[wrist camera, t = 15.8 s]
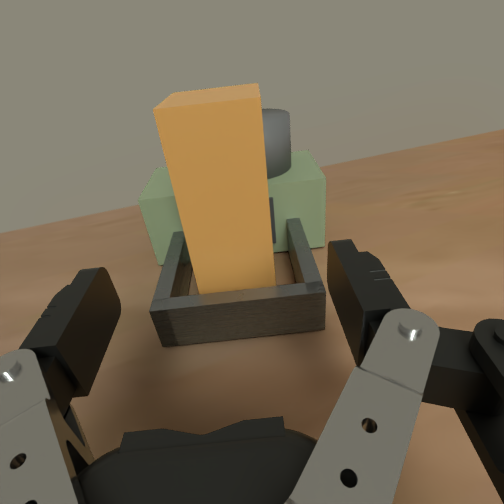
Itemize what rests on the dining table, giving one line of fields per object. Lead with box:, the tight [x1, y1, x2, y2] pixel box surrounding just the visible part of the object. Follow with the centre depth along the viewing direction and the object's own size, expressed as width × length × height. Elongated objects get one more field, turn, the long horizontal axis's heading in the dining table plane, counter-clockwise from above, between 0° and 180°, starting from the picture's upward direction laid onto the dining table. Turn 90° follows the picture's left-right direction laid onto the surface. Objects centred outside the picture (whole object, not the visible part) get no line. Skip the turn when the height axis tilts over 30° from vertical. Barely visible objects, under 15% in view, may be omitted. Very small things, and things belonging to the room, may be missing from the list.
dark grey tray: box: [149, 218, 326, 347], centre depth 23 cm, size 10×9×3 cm
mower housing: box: [138, 109, 326, 265], centre depth 28 cm, size 14×7×10 cm, turn 93°
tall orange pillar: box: [153, 83, 276, 294], centre depth 21 cm, size 5×5×13 cm
